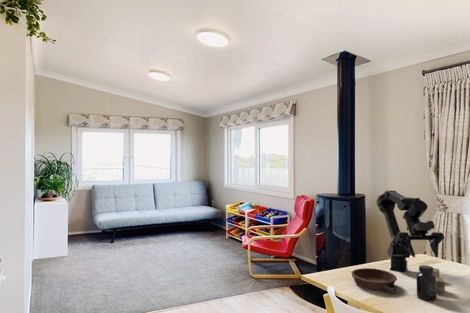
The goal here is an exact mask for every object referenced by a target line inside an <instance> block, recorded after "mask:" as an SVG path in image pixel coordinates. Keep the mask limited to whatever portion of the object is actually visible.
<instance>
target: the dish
mask: <svg viewBox="0 0 470 313" xmlns="http://www.w3.org/2000/svg"><path fill="white" fill-rule="evenodd" d="M351 276H352V278H353V280H354V283H355V284H356V285H357V286H359V287H360V288H362V289H366V290H369V291H373V292H389V293H396V292H397V291H398V287H397V286H396V284H395V283H396V282H397V280H398V278H397V276H396V275H395V274H393V273H392V272H390V271H386V270H383V269H379V268H372V267H371V268H370V267H367V268H357V269H354V270H352V271H351Z"/></svg>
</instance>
